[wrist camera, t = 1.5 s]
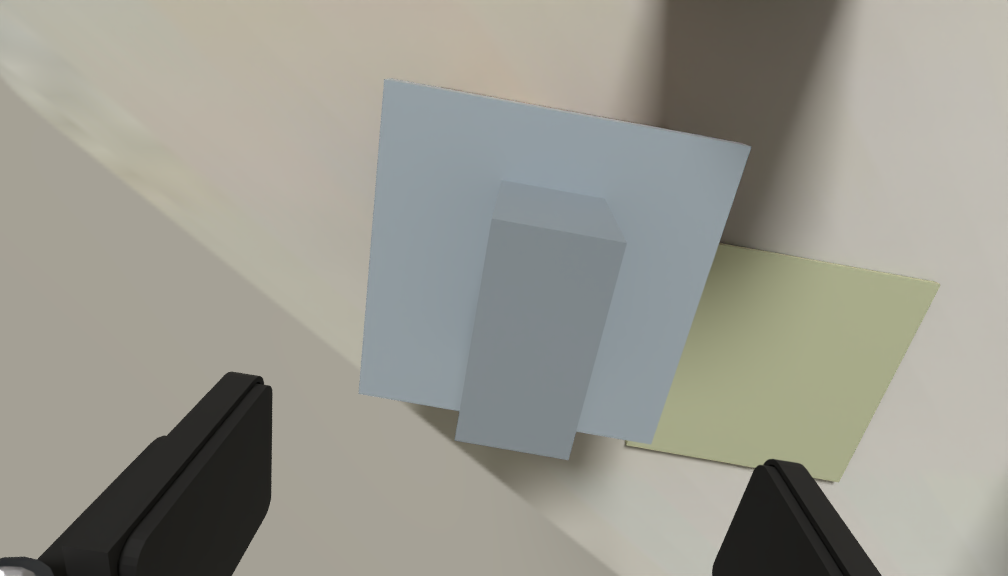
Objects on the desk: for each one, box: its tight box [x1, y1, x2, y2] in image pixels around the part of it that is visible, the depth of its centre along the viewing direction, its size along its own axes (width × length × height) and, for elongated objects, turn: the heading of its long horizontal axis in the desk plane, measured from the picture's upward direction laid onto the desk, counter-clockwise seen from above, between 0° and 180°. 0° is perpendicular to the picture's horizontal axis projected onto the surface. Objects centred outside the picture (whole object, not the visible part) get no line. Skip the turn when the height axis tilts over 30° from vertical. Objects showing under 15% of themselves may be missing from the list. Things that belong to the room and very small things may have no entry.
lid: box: [359, 78, 751, 460], centre depth 19 cm, size 12×12×7 cm
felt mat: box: [625, 243, 940, 482], centre depth 31 cm, size 13×13×1 cm
